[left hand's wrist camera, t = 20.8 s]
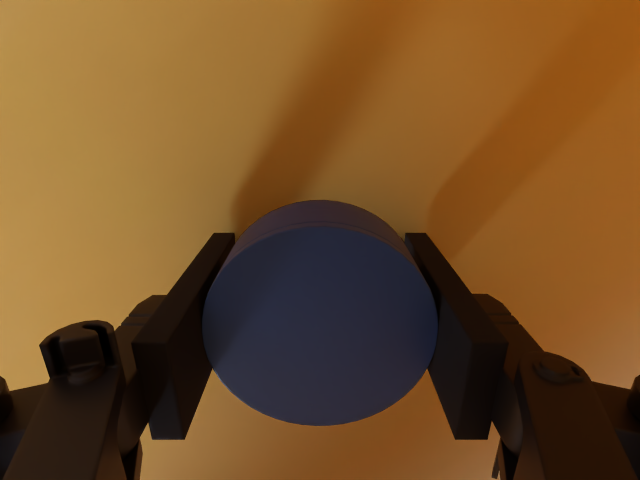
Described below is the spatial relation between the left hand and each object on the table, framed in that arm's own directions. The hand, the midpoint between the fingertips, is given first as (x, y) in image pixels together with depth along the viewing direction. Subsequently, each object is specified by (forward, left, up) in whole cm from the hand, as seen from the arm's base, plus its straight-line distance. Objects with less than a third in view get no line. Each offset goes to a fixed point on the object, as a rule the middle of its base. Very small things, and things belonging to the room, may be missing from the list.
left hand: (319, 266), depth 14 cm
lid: (0, 0, +4) cm, 4 cm away
